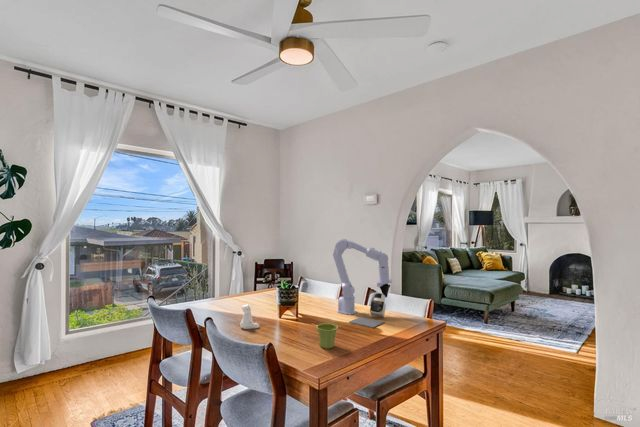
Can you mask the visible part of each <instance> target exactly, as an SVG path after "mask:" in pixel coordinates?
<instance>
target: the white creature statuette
mask: <svg viewBox="0 0 640 427" xmlns="http://www.w3.org/2000/svg"><path fill="white" fill-rule="evenodd" d="M241 310H242V312H243V315H242V318H241V321H240V324H239V325H240V328H242V329H243V330H252V329H253V330H254V329H259V328H260V323H258V322H254V321H253V316H252V308H251V306H250V305H249V304H247V303H246V304H244V305H241Z"/></svg>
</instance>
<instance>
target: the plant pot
mask: <svg viewBox="0 0 640 427" xmlns="http://www.w3.org/2000/svg"><path fill="white" fill-rule="evenodd" d="M338 328H339V326H338V325H336V324H334V323H320V324H317V325H316V329H317V332H318V339H319V340H318V342H319V346H320V348H322V349H332V348H334V347H335V340H336V334H337V330H338Z"/></svg>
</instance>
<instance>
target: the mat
mask: <svg viewBox="0 0 640 427" xmlns="http://www.w3.org/2000/svg"><path fill="white" fill-rule="evenodd" d="M348 324H352V325H358V326H362V327H366V328H371V329H375V328H377V327H379V326H380V325H384V324H385V321H383V320H377V319H374V318H373V319H372V318H368V317H364V316H359V317H357V318H355V319H353V320H350V321H348Z"/></svg>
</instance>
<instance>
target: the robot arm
mask: <svg viewBox="0 0 640 427" xmlns="http://www.w3.org/2000/svg"><path fill="white" fill-rule="evenodd" d="M347 249H348V250H351V249H354V250H355V251H359V252H360V253H361V252H362V253H363V254H365V255H366V257H367V258H369V259H372V260H373V261H376V262H378V278H379V279H378V280H379V281H378V282H377V283H376V287H377V288H379V289H380V290H381V294H383V295H385V298H388V295H389V290H390V288H391V283H392V281H393V280H392V279H390V273H389V272H390V269H389V256H388V254H386V253H385V252H383V251H381V250H380V251H379V250H377V249H375V248H374V247H368V248H367V247H365V246H363V245H361V244H359V243H357V242H355V241H352V240H349V239H345V238H341V239H339V240H338V241H337V242H336V243H335V244H334V250H333V253H332V256H333V260H334V263H335V266H336V270H337V273H338V275H339V279H340V282H341V289H342V292H341V295H342V296H339V299H338V301H337V302H338V304H337V313H339V314H345V315H353V314H356V313H358V310H355V302H356V301H355V296H354V294H355V291H356V290H355V287H354V286H353V285H352V282H351V281H350V278H349V275H348V273H347V268H346V265H345V262H344V260H343V253H344V252H345V251H346V250H347Z"/></svg>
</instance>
